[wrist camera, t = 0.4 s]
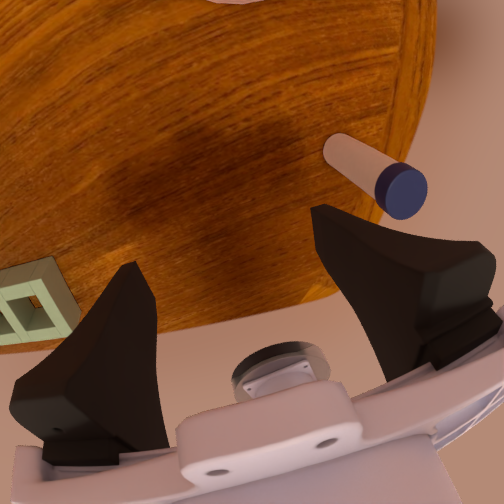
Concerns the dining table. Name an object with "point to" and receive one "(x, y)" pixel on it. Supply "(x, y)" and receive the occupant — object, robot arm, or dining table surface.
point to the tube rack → (23, 312)
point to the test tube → (378, 175)
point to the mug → (235, 1)
